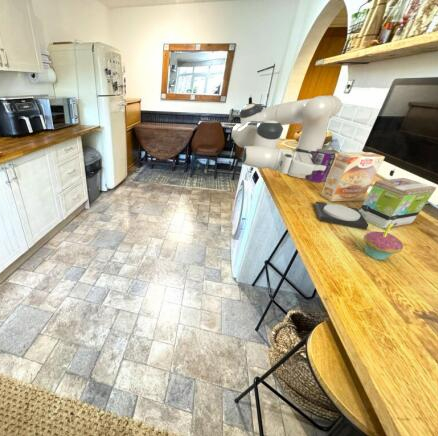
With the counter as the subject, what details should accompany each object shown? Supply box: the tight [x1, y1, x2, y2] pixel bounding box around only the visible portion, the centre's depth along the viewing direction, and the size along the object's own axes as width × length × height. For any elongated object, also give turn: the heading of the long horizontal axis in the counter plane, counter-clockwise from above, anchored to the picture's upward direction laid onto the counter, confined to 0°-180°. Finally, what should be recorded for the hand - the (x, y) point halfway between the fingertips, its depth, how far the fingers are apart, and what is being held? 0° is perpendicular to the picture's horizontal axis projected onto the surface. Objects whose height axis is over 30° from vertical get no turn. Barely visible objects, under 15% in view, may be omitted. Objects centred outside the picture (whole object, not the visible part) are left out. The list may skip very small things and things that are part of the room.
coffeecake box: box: [320, 151, 386, 203], centre depth 101 cm, size 15×7×20 cm, turn 95°
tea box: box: [358, 177, 437, 229], centre depth 86 cm, size 15×10×15 cm, turn 107°
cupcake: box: [363, 221, 404, 261], centre depth 68 cm, size 9×8×12 cm
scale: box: [313, 201, 369, 231], centre depth 90 cm, size 14×14×3 cm
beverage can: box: [304, 148, 337, 184], centre depth 93 cm, size 7×7×12 cm
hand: (323, 165), depth 92 cm, fingers closed on beverage can, 6 cm apart
